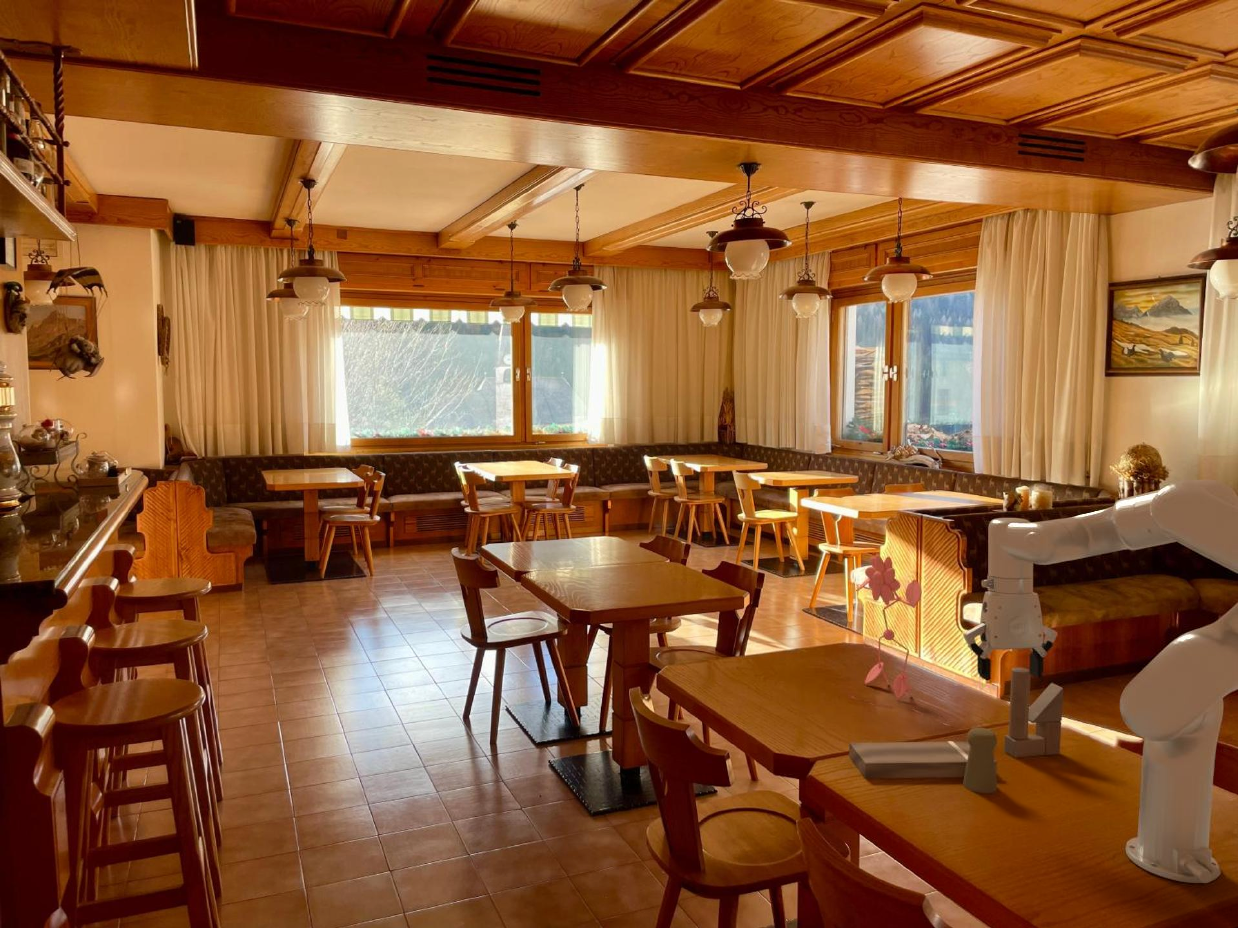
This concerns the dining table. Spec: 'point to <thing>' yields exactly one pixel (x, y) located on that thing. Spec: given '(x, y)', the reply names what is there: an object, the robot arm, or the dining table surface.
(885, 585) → the pink wire flower
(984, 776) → the olive green peg figure
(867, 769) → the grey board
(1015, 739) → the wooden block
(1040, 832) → the dining table surface
